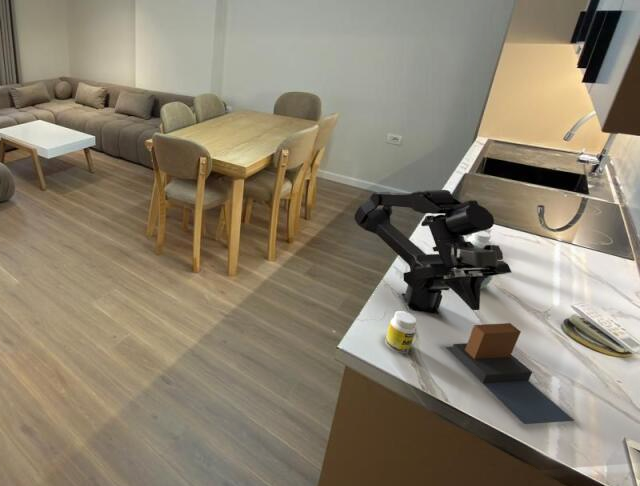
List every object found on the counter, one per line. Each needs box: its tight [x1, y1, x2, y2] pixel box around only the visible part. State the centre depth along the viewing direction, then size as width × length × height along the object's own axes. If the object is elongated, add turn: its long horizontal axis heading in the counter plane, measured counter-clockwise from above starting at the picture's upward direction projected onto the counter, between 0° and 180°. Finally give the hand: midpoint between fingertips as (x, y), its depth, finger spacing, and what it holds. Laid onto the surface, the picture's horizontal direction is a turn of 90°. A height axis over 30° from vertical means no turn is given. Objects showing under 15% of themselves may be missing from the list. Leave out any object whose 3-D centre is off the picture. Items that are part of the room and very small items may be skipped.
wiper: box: [450, 322, 533, 384], centre depth 83 cm, size 8×10×9 cm
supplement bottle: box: [384, 310, 417, 354], centre depth 89 cm, size 5×5×8 cm
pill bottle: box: [467, 231, 492, 248], centre depth 119 cm, size 5×5×10 cm
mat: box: [445, 346, 575, 425], centre depth 81 cm, size 18×10×1 cm, turn 3°
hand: (476, 310), depth 87 cm, fingers closed
